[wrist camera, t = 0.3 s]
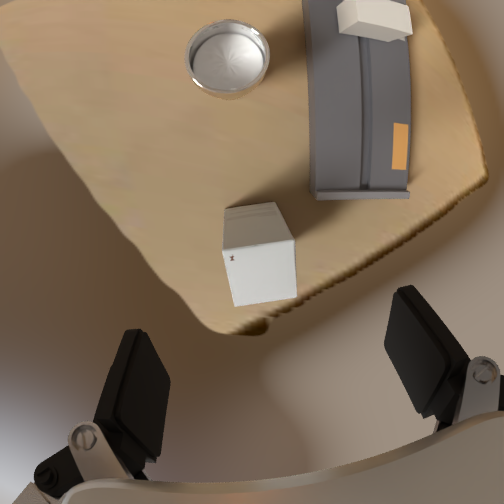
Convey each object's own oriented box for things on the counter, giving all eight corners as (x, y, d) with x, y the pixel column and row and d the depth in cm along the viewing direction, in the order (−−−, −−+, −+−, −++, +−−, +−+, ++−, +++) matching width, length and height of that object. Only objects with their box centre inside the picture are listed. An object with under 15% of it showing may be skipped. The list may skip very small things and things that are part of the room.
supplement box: (231, 254, 43) (231, 308, 31) (223, 207, 39) (220, 248, 28) (281, 248, 43) (298, 299, 31) (277, 200, 39) (295, 238, 28)
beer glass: (261, 57, 30) (279, 24, 17) (252, 107, 33) (264, 102, 20) (206, 50, 29) (190, 13, 16) (197, 100, 32) (174, 91, 19)
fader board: (300, -11, 25) (307, -22, 22) (391, 5, 26) (405, -1, 22) (309, 191, 39) (317, 200, 35) (395, 190, 39) (409, 198, 36)
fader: (333, 9, 25) (354, -9, 19) (381, 18, 25) (408, 6, 19) (335, 35, 27) (358, 21, 21) (384, 43, 27) (412, 34, 21)
